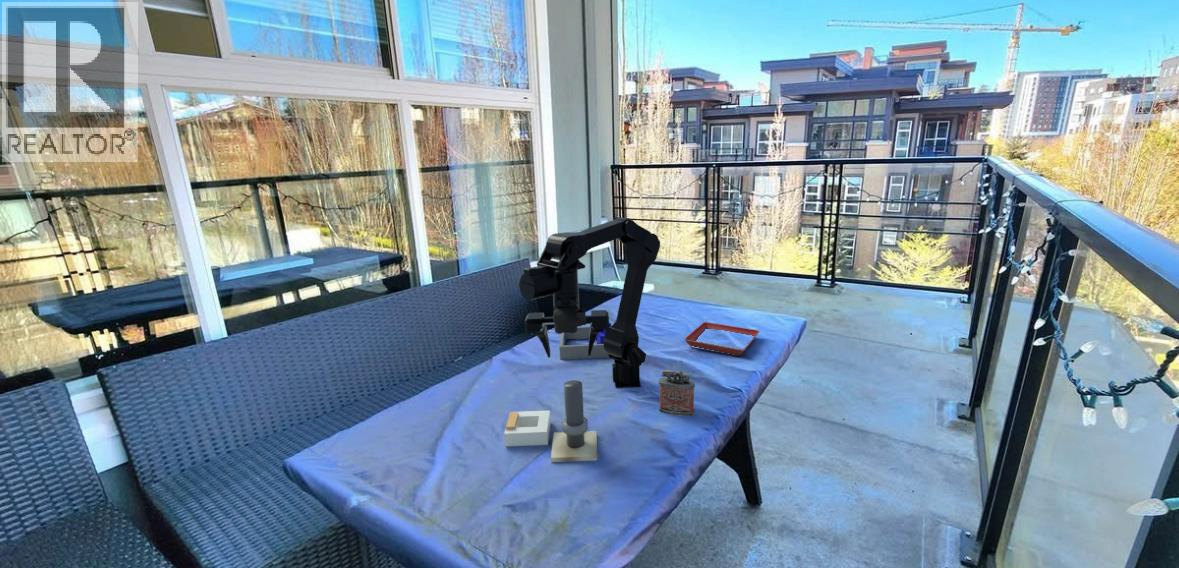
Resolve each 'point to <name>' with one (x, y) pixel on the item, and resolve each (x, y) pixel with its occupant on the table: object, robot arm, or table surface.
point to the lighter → (676, 393)
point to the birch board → (567, 454)
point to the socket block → (527, 428)
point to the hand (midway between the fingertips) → (569, 356)
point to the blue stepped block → (601, 336)
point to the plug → (574, 414)
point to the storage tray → (580, 346)
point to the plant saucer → (705, 325)
